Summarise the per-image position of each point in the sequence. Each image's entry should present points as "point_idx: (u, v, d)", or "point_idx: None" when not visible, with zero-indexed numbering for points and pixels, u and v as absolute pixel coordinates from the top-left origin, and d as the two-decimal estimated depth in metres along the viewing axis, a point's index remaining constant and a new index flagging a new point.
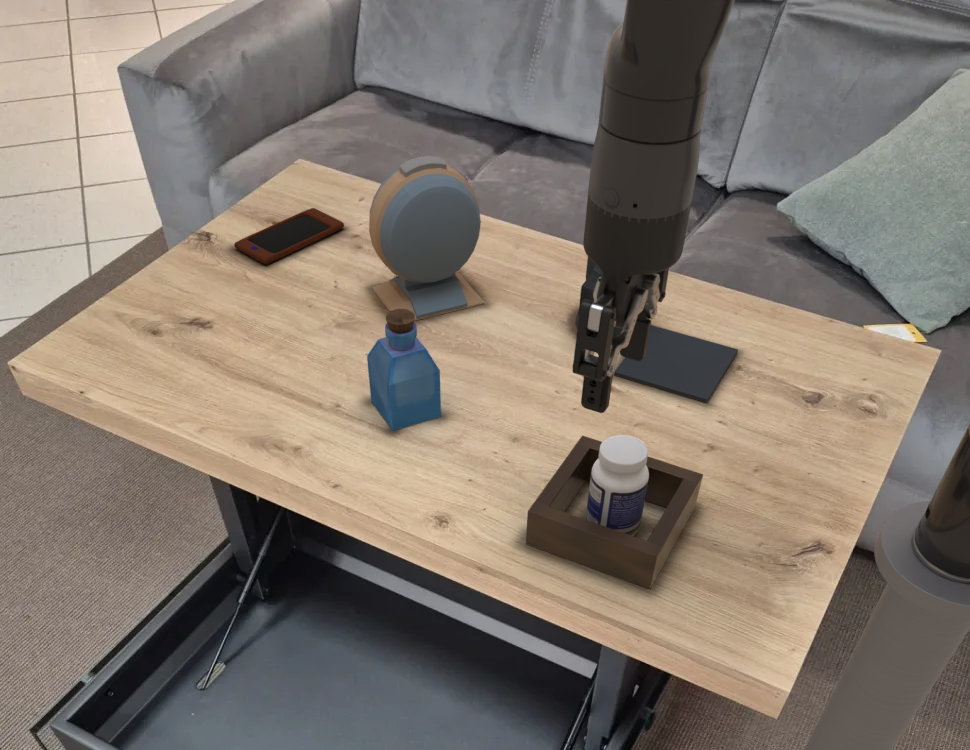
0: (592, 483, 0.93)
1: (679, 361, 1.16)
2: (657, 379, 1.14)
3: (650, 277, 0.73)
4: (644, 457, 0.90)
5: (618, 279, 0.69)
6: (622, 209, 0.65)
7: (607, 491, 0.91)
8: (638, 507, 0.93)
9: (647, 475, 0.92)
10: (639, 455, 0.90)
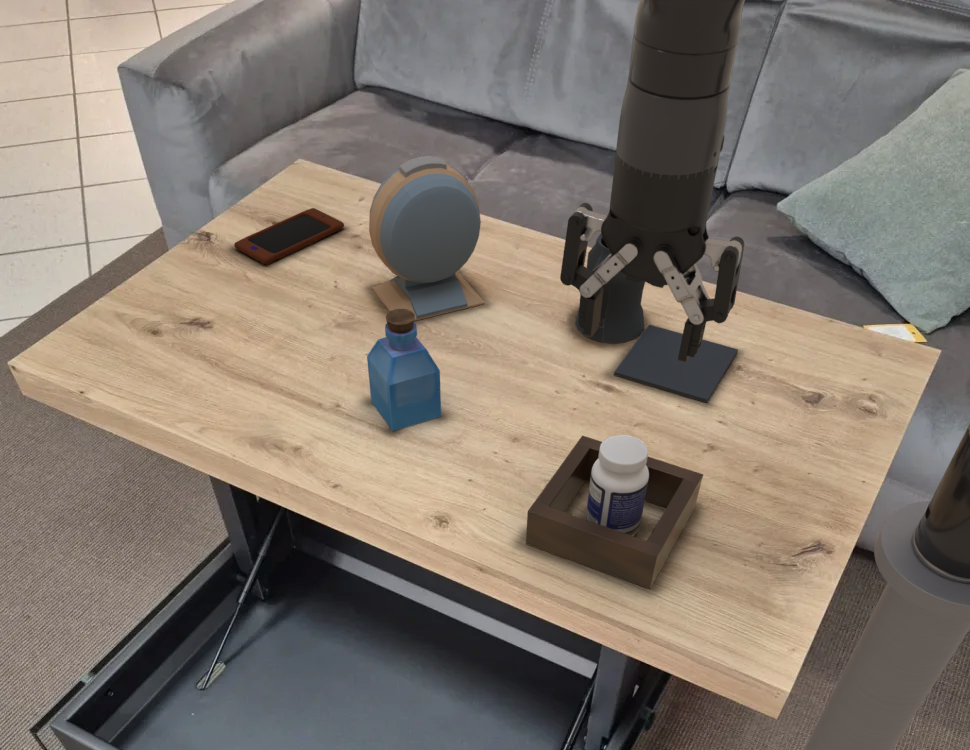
0: (592, 483, 0.93)
1: (679, 361, 1.16)
2: (657, 379, 1.14)
3: (659, 249, 0.72)
4: (644, 457, 0.90)
5: None
6: None
7: (607, 491, 0.91)
8: (638, 507, 0.93)
9: (647, 475, 0.92)
10: (639, 455, 0.90)
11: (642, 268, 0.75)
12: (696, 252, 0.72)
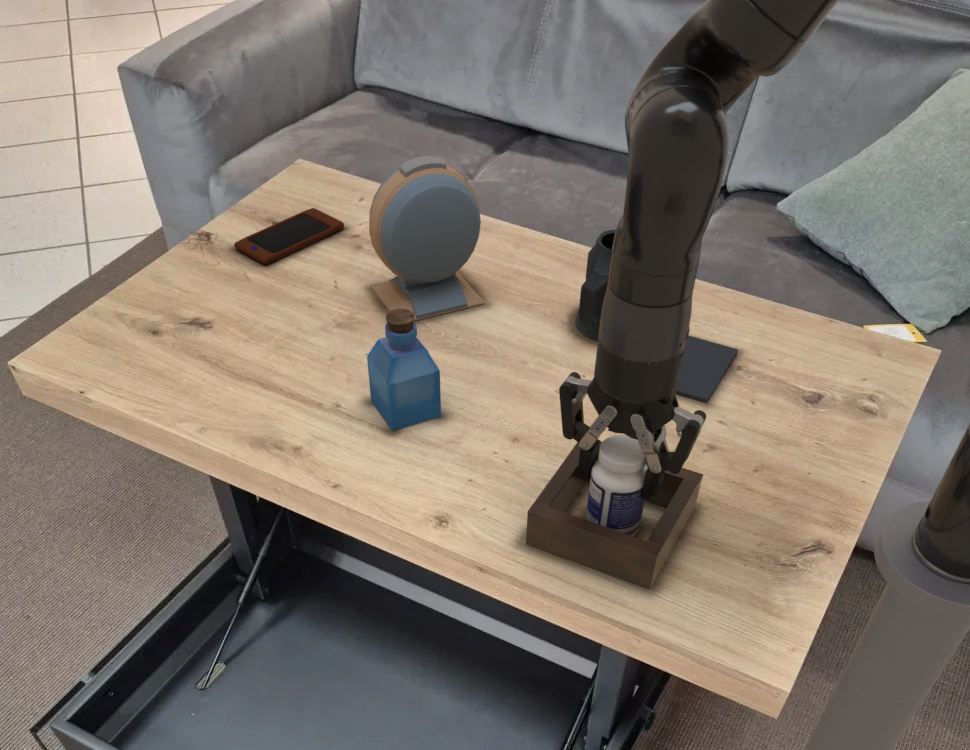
0: (592, 483, 0.93)
1: None
2: None
3: (635, 411, 0.85)
4: (644, 457, 0.90)
5: None
6: None
7: (607, 491, 0.91)
8: (638, 507, 0.93)
9: None
10: (638, 455, 0.90)
11: (621, 424, 0.87)
12: (666, 417, 0.84)
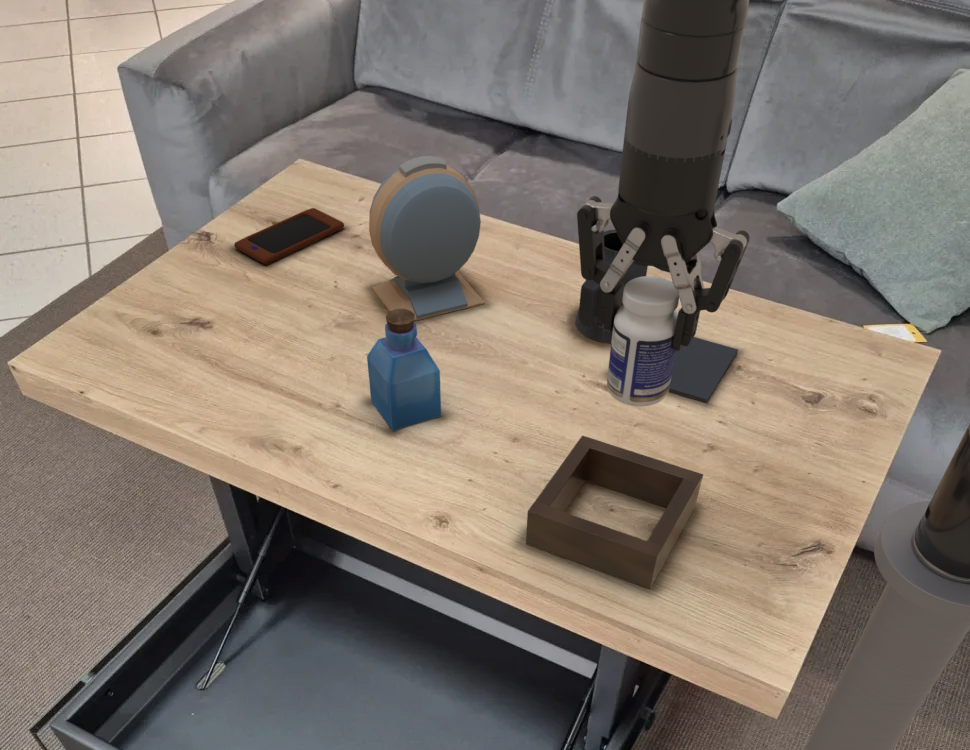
0: (615, 333, 0.81)
1: (679, 361, 1.16)
2: None
3: (666, 233, 0.73)
4: (675, 297, 0.78)
5: None
6: None
7: (632, 340, 0.79)
8: (668, 362, 0.81)
9: None
10: (669, 294, 0.78)
11: (650, 252, 0.75)
12: (703, 238, 0.72)
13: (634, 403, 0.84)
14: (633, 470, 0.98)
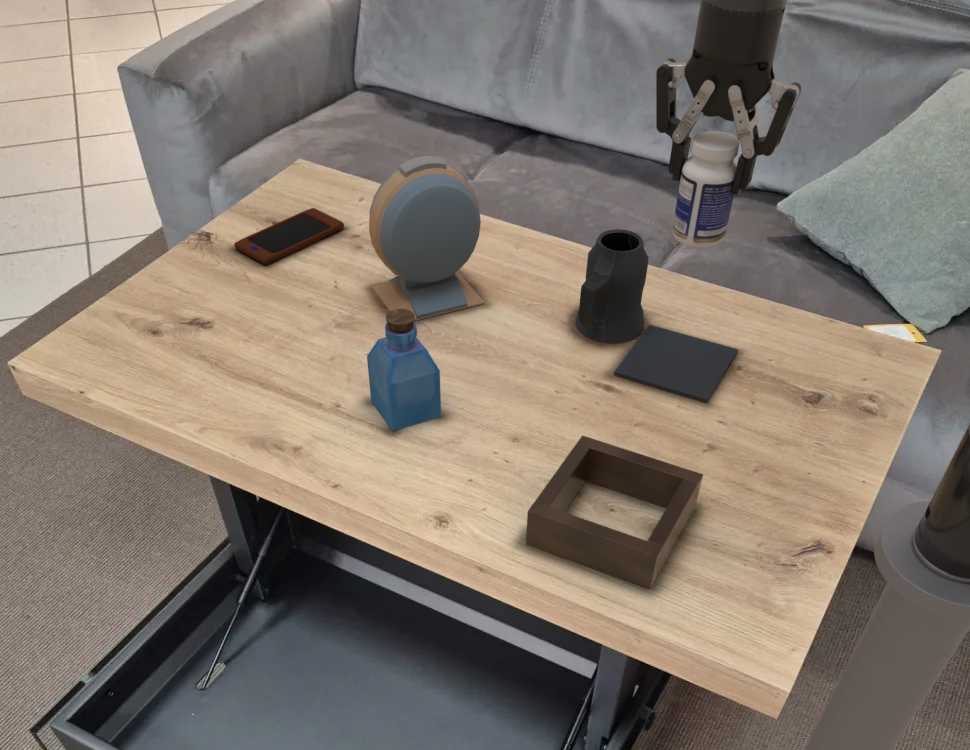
0: (683, 180, 0.96)
1: (679, 361, 1.16)
2: (657, 379, 1.14)
3: (733, 84, 0.88)
4: (736, 145, 0.93)
5: None
6: None
7: (698, 183, 0.94)
8: (727, 205, 0.97)
9: None
10: (731, 143, 0.93)
11: (717, 104, 0.90)
12: (763, 88, 0.87)
13: (696, 244, 0.99)
14: (633, 470, 0.98)
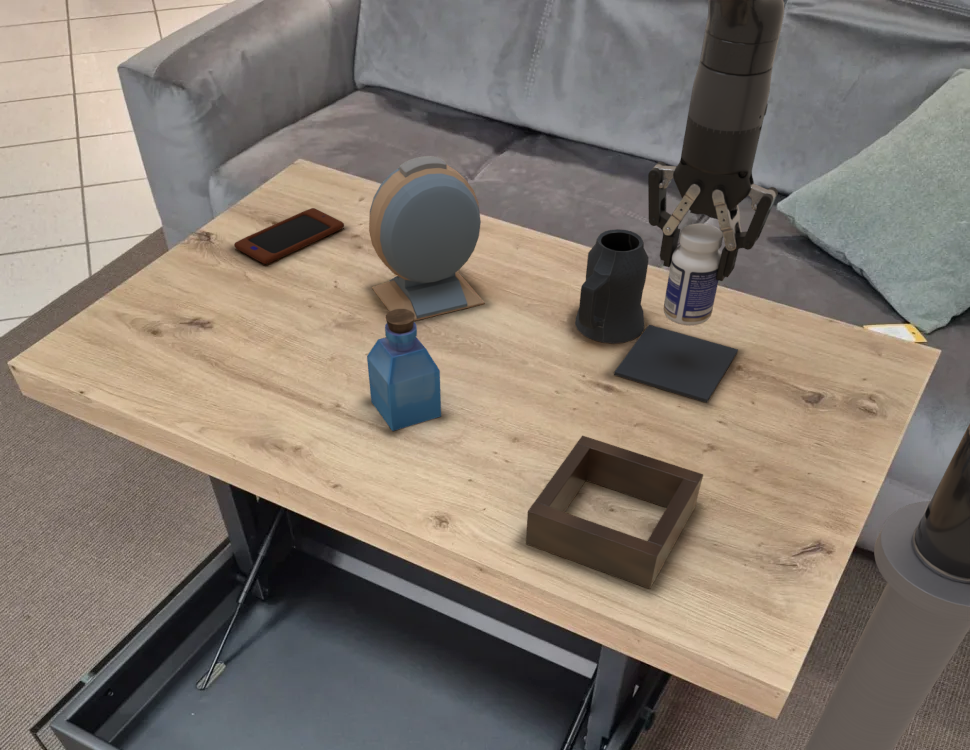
0: (673, 267, 1.06)
1: (679, 361, 1.16)
2: (657, 379, 1.14)
3: (716, 188, 0.98)
4: (720, 238, 1.03)
5: None
6: None
7: (686, 271, 1.05)
8: (713, 290, 1.07)
9: None
10: (715, 236, 1.03)
11: (703, 203, 1.01)
12: (743, 192, 0.98)
13: (685, 322, 1.09)
14: (633, 470, 0.98)
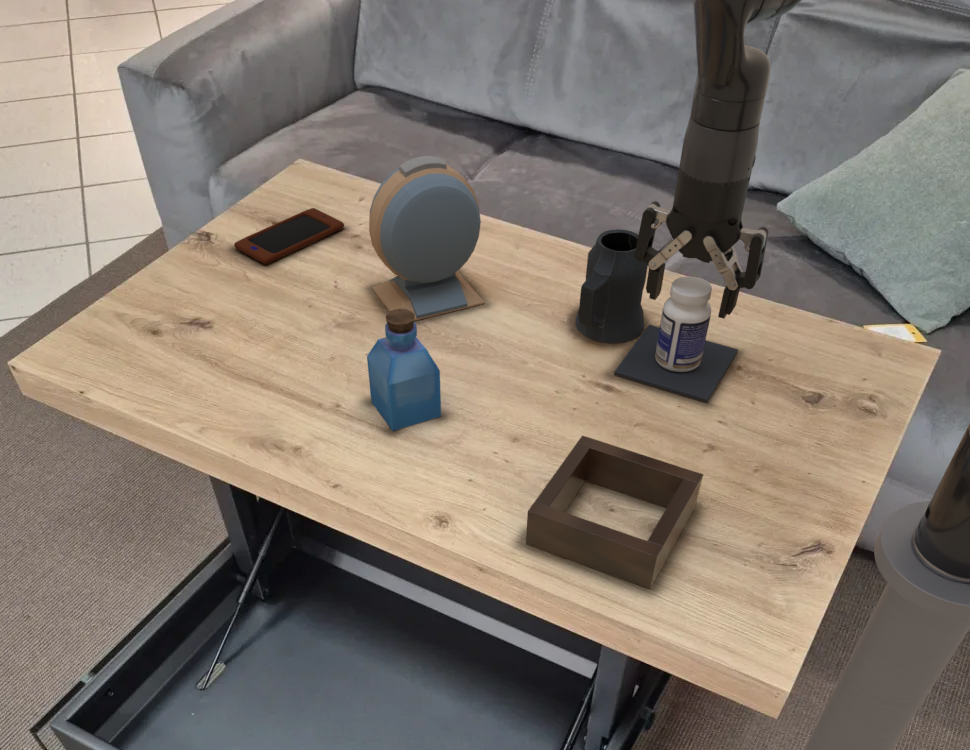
0: (664, 317, 1.11)
1: None
2: (657, 379, 1.14)
3: (707, 234, 1.02)
4: (709, 291, 1.08)
5: None
6: None
7: (677, 322, 1.10)
8: (702, 339, 1.12)
9: (710, 310, 1.10)
10: (704, 290, 1.08)
11: (694, 248, 1.04)
12: (733, 237, 1.02)
13: (676, 369, 1.14)
14: (633, 470, 0.98)
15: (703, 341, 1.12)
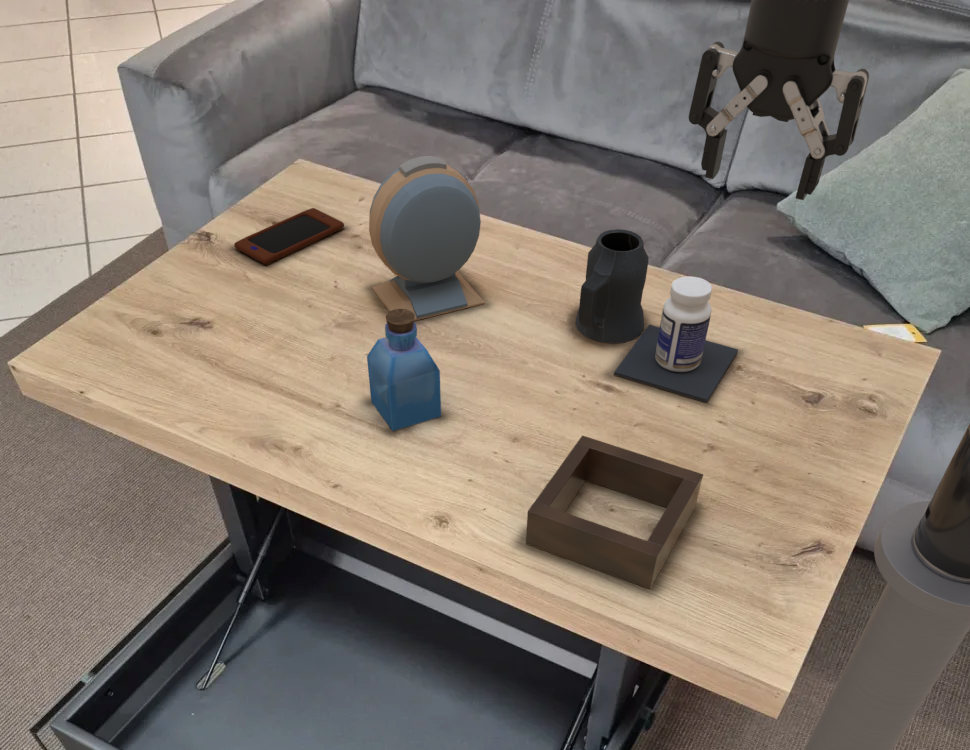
0: (664, 317, 1.11)
1: None
2: (657, 379, 1.14)
3: (788, 80, 0.78)
4: (709, 291, 1.08)
5: None
6: None
7: (677, 322, 1.10)
8: (702, 339, 1.12)
9: (710, 310, 1.10)
10: (704, 290, 1.08)
11: (769, 102, 0.80)
12: (824, 82, 0.77)
13: (676, 369, 1.14)
14: (633, 470, 0.98)
15: (703, 341, 1.12)
